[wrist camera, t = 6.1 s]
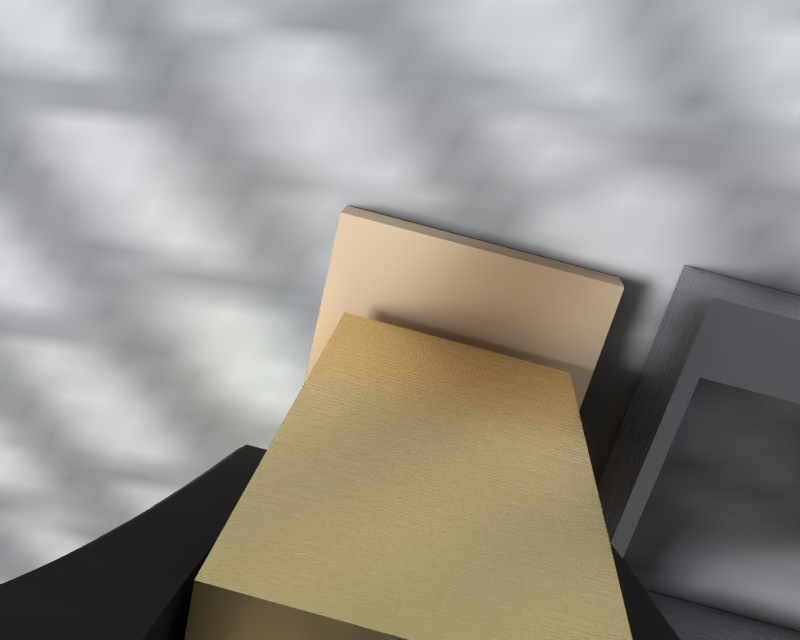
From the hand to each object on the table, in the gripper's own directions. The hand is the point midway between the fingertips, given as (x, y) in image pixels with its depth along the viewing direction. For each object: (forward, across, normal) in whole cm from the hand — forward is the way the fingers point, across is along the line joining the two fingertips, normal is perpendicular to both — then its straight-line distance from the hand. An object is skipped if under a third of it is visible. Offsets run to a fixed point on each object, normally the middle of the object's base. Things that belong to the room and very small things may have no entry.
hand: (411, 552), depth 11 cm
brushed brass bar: (+3, 0, 0) cm, 3 cm away
